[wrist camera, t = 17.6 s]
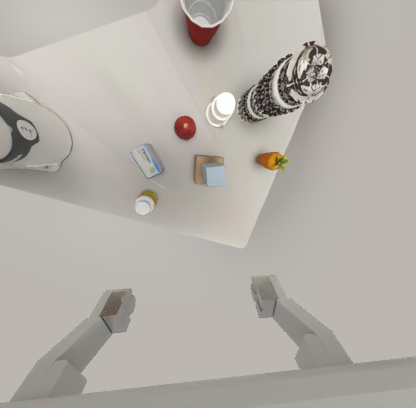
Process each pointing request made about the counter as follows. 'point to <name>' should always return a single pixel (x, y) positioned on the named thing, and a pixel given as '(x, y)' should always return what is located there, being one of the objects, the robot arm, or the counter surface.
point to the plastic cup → (205, 17)
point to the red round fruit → (185, 127)
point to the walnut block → (198, 166)
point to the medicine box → (147, 160)
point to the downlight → (220, 109)
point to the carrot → (272, 160)
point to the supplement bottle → (145, 202)
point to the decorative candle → (288, 84)
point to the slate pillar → (214, 174)
